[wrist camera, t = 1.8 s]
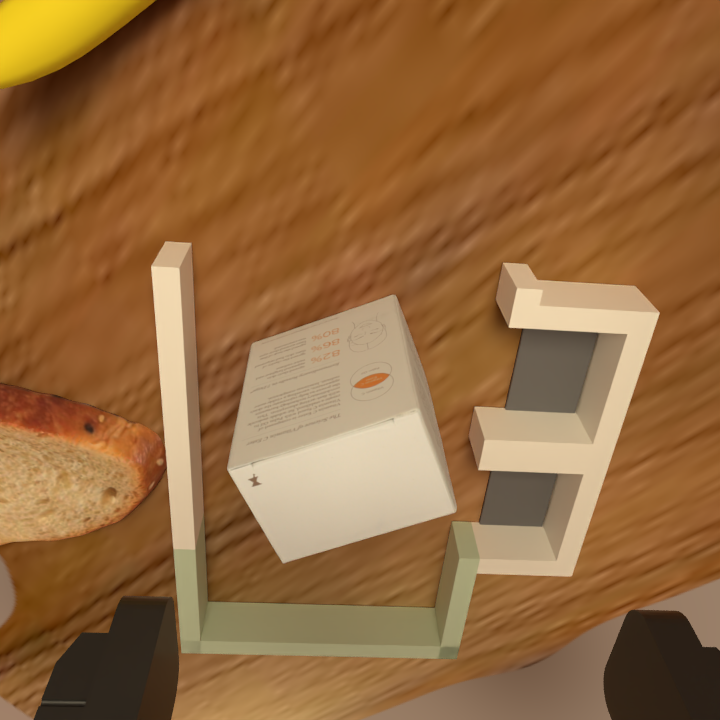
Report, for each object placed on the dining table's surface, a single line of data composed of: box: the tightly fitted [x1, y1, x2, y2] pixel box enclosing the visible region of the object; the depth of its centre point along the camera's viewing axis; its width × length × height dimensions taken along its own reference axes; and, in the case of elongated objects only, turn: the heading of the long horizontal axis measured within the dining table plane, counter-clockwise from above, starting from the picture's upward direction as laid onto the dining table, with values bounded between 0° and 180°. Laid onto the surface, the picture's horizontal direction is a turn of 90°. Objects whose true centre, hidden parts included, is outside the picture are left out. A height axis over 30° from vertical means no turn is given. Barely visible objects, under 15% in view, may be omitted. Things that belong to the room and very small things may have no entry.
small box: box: [227, 295, 457, 564], centre depth 32 cm, size 8×6×10 cm
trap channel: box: [151, 241, 660, 659], centre depth 39 cm, size 26×23×3 cm
